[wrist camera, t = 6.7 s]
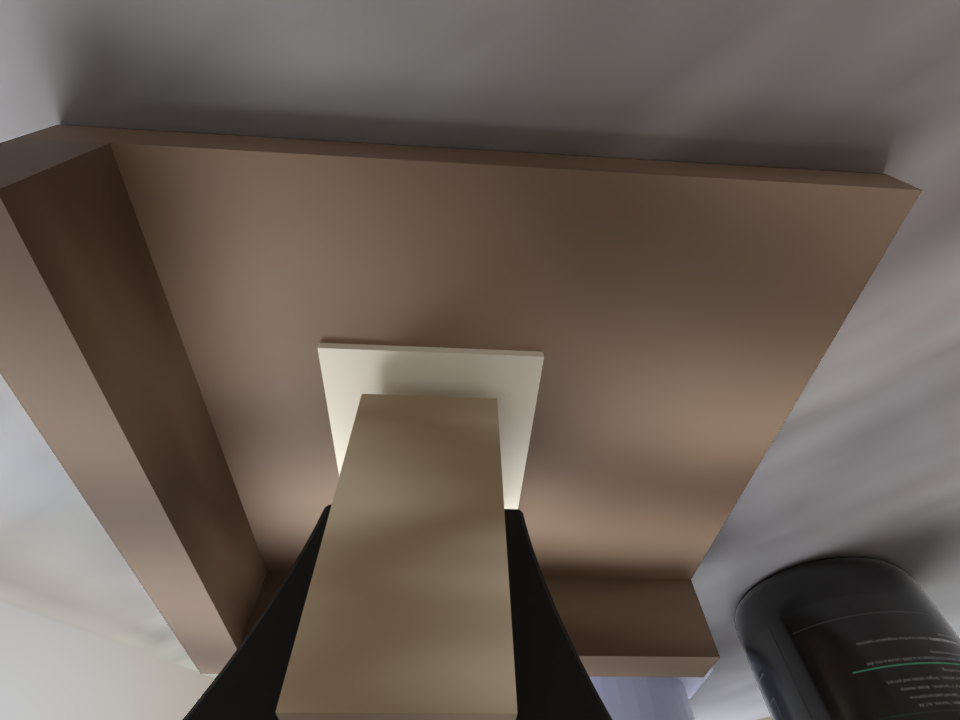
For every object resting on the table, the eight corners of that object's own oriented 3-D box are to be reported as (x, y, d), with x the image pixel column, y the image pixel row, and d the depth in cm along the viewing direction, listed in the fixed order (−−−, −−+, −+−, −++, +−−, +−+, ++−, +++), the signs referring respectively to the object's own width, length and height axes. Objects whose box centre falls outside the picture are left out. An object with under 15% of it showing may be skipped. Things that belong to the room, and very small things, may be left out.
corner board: (669, 575, 19) (703, 677, 16) (242, 567, 18) (200, 673, 15) (885, 174, 10) (1049, 246, 7) (56, 124, 9) (-126, 183, 6)
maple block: (497, 398, 11) (518, 723, 6) (483, 530, 14) (489, 820, 9) (361, 393, 11) (272, 722, 6) (376, 528, 14) (325, 820, 9)
